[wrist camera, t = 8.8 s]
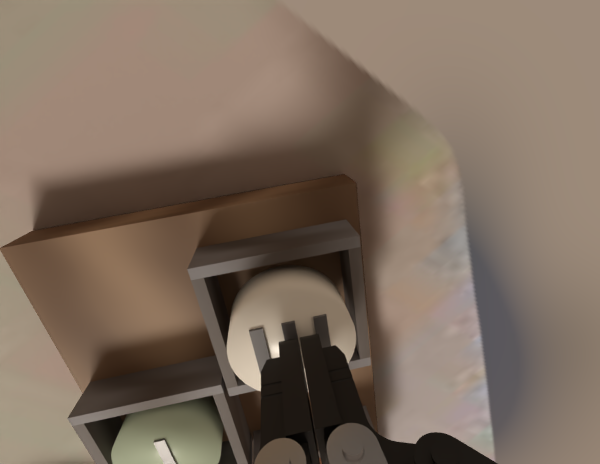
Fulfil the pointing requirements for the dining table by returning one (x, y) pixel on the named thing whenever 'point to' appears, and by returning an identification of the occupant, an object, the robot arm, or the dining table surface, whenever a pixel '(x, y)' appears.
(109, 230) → the button panel
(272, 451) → the robot arm
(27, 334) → the dining table surface
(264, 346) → the button cream
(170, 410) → the button sage
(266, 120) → the dining table surface
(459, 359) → the dining table surface
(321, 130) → the dining table surface
